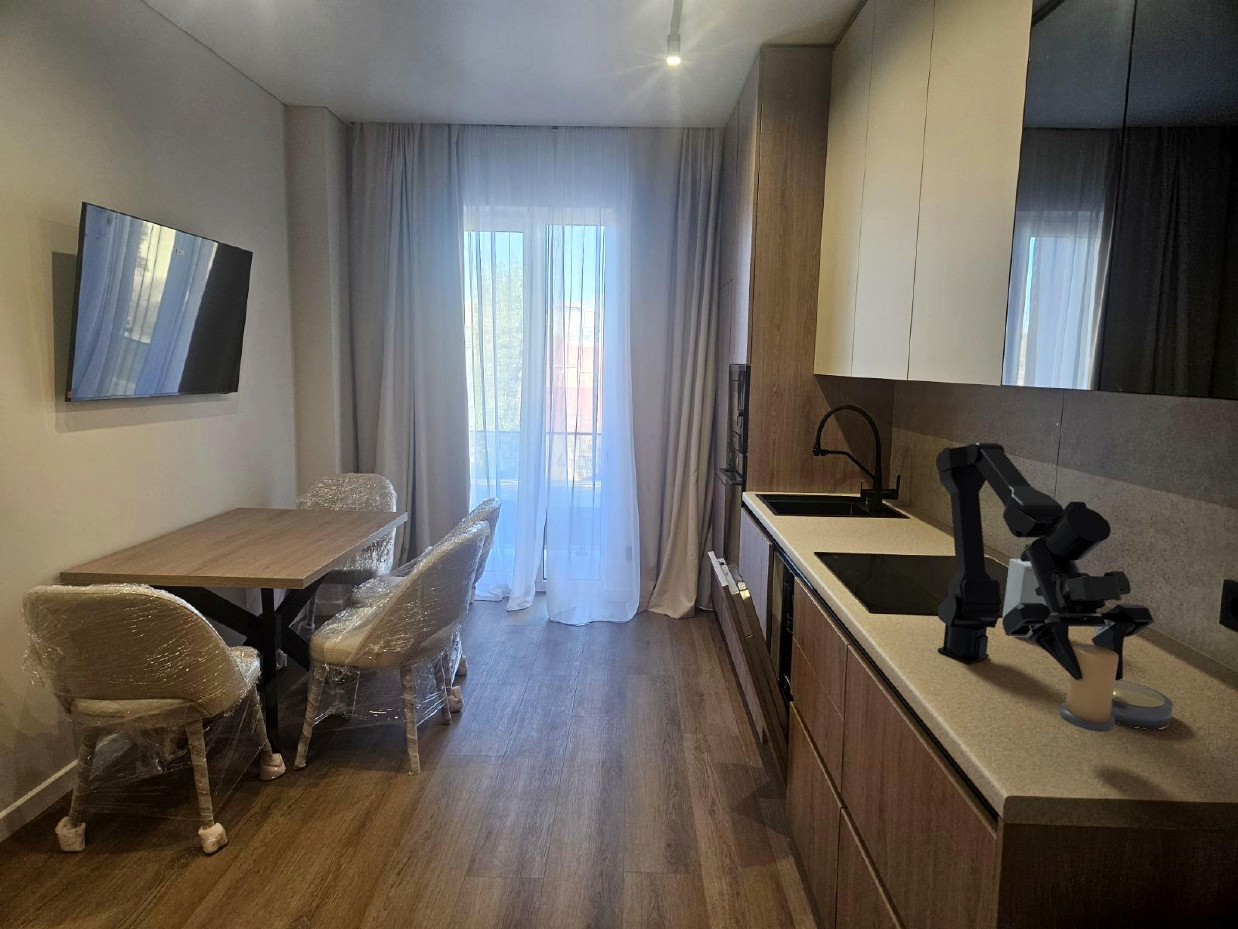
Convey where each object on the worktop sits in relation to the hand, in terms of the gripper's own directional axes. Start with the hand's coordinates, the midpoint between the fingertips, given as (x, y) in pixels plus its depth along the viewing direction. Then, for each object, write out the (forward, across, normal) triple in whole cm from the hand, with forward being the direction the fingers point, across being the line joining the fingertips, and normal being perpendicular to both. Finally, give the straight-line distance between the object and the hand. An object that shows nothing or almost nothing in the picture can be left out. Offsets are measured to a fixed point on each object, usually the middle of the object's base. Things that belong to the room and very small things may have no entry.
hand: (1099, 679), depth 97 cm
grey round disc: (-1, +16, +18) cm, 24 cm away
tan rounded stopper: (+4, 0, +6) cm, 7 cm away
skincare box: (-24, +19, +41) cm, 51 cm away
